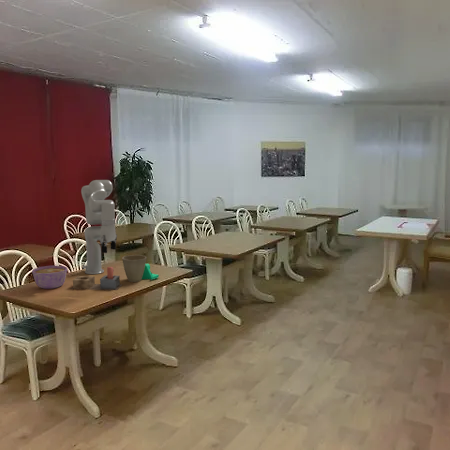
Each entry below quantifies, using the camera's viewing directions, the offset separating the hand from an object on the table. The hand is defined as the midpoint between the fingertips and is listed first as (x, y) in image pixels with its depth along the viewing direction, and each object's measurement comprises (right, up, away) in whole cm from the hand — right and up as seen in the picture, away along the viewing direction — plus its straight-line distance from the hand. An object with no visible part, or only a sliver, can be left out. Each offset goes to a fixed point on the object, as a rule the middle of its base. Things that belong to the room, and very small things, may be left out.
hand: (109, 250), depth 278 cm
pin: (0, -22, +3) cm, 22 cm away
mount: (-16, -22, +4) cm, 27 cm away
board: (-8, -23, +4) cm, 24 cm away
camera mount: (+19, -20, +28) cm, 39 cm away
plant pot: (+12, -21, +19) cm, 31 cm away
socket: (0, -22, +3) cm, 22 cm away
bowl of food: (-36, -23, +4) cm, 43 cm away
